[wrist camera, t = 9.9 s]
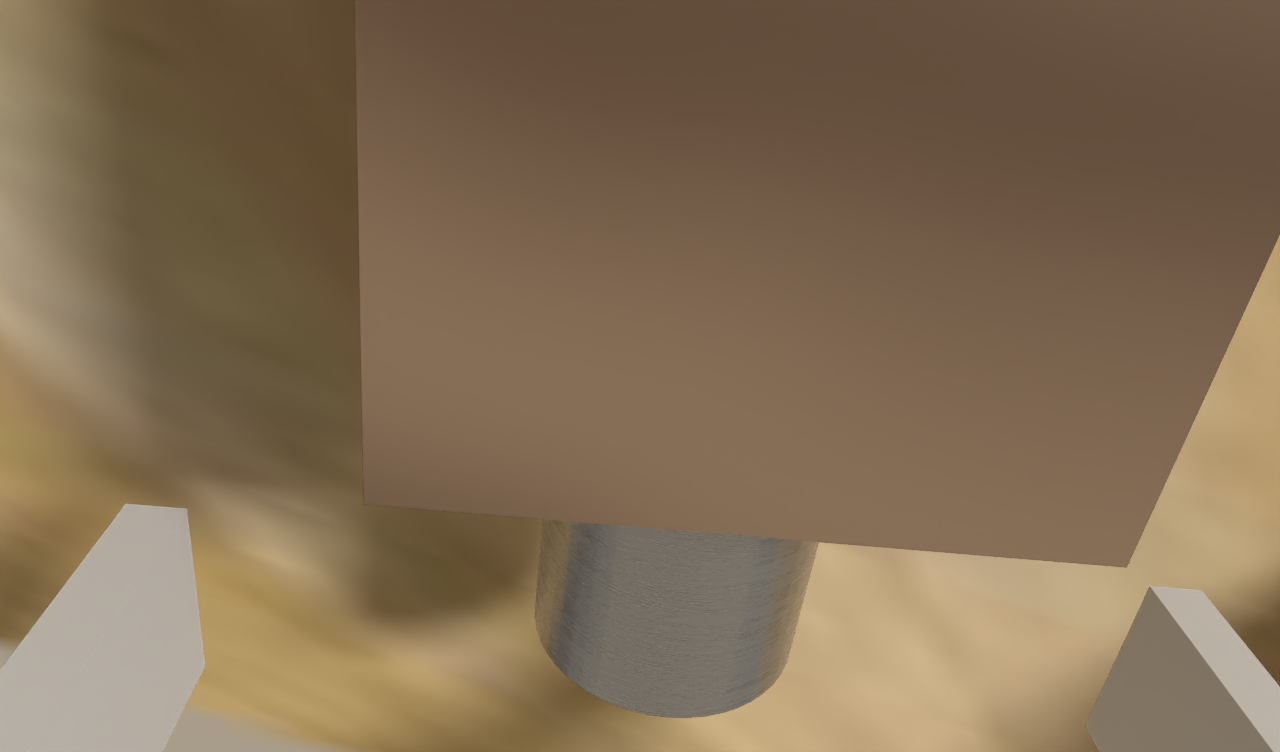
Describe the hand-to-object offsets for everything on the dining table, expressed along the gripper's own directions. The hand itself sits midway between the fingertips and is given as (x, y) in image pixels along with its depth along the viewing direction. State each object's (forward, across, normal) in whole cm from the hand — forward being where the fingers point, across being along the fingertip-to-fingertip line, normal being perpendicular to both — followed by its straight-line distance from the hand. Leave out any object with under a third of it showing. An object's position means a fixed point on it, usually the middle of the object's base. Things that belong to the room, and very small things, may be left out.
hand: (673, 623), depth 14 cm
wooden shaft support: (+6, 0, +14) cm, 15 cm away
